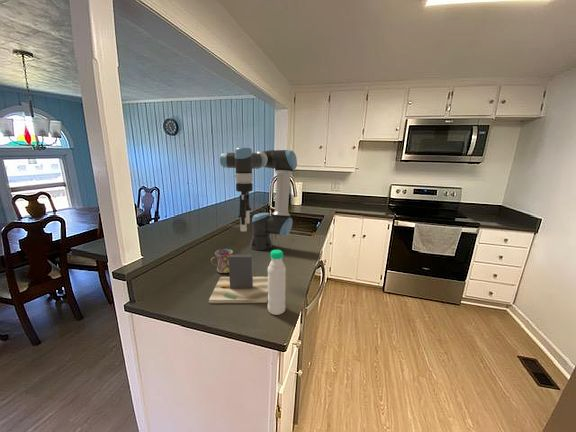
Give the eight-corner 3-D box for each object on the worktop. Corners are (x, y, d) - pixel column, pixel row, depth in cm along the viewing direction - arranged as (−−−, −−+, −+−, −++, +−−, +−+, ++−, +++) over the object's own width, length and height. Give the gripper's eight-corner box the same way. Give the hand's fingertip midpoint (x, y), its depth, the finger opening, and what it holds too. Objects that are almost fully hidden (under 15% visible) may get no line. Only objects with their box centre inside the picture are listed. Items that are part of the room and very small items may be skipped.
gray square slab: (222, 285, 109) (220, 254, 106) (253, 285, 110) (252, 254, 106) (221, 288, 107) (219, 257, 103) (252, 288, 107) (251, 257, 104)
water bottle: (285, 304, 98) (286, 247, 93) (285, 315, 92) (286, 254, 86) (268, 304, 98) (267, 247, 92) (267, 315, 91) (266, 254, 86)
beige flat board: (220, 279, 118) (220, 276, 118) (269, 279, 119) (268, 276, 119) (209, 303, 99) (208, 299, 98) (267, 302, 100) (267, 299, 99)
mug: (228, 265, 134) (227, 247, 132) (237, 270, 128) (236, 252, 125) (207, 271, 126) (206, 253, 124) (216, 278, 120) (215, 258, 117)
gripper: (239, 180, 121) (241, 220, 126) (231, 185, 97) (233, 235, 102) (254, 180, 122) (255, 220, 127) (249, 185, 97) (250, 235, 102)
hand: (245, 227), depth 114 cm, fingers open, 13 cm apart
